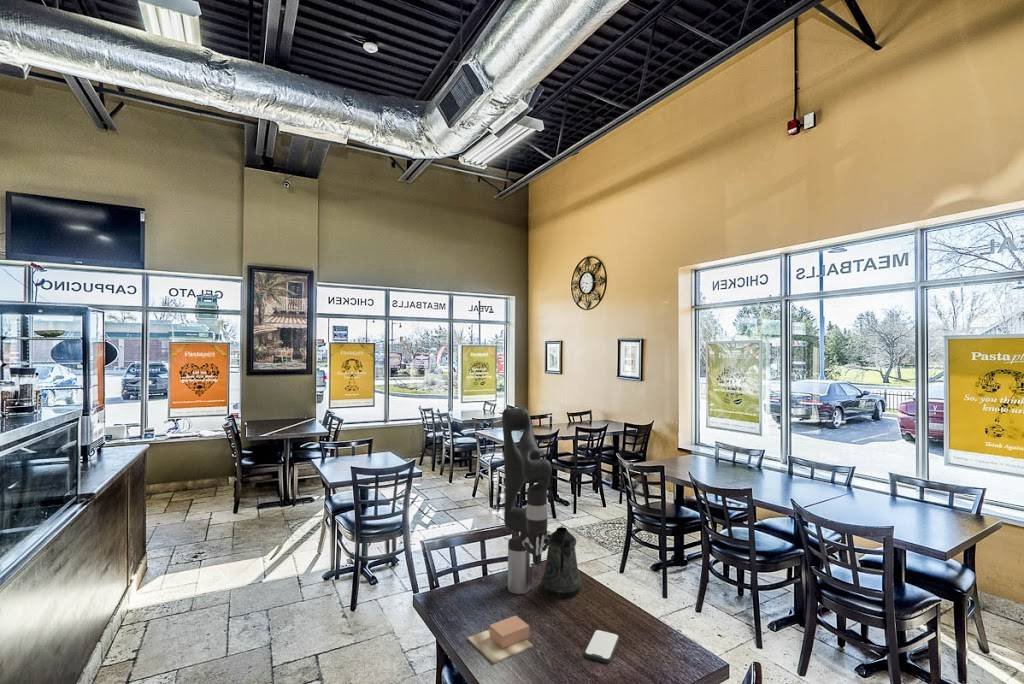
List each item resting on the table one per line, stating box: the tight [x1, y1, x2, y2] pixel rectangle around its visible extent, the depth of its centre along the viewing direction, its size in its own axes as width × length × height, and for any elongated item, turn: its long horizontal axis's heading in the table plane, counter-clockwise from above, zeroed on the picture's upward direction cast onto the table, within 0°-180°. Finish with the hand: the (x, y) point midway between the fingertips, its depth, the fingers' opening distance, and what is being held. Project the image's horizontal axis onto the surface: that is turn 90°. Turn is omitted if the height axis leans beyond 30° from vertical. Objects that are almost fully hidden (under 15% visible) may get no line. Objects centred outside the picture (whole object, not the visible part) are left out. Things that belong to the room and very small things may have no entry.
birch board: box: [467, 628, 534, 665], centre depth 166 cm, size 16×16×1 cm
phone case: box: [583, 629, 620, 664], centre depth 164 cm, size 9×2×16 cm
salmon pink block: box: [489, 615, 530, 649], centre depth 168 cm, size 4×8×11 cm
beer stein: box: [541, 526, 582, 599], centre depth 203 cm, size 16×19×25 cm
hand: (536, 564), depth 175 cm, fingers closed
